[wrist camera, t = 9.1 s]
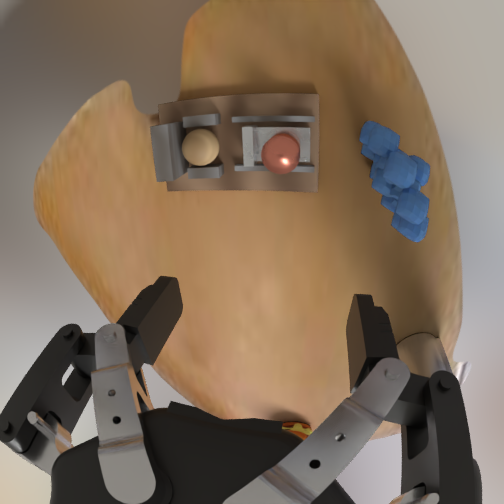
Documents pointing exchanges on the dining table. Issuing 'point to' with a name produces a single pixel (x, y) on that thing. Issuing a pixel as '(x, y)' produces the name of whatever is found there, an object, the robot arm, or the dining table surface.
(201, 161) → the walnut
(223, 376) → the dining table surface
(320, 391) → the dining table surface
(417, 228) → the grapes
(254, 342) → the dining table surface
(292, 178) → the base
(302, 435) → the cheeseburger
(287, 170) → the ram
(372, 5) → the dining table surface
